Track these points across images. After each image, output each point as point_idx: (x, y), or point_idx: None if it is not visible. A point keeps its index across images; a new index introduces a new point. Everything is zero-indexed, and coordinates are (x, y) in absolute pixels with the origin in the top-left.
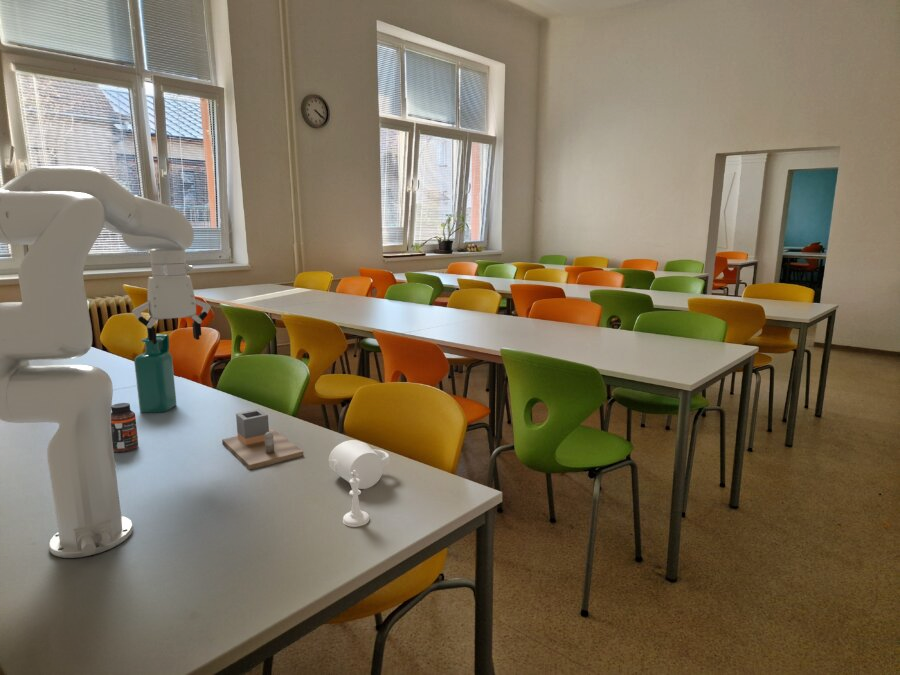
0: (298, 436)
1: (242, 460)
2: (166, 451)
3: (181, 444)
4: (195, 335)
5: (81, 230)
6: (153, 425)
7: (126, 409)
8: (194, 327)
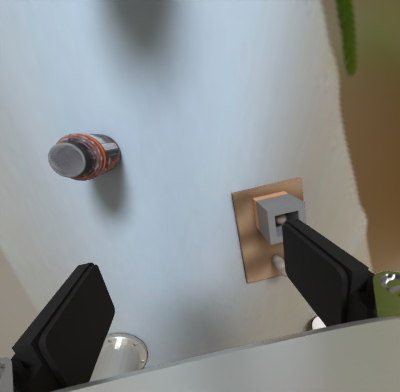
0: (321, 205)
1: (244, 263)
2: (161, 190)
3: (180, 170)
4: (294, 275)
5: None
6: (130, 43)
7: (84, 172)
8: (322, 304)
